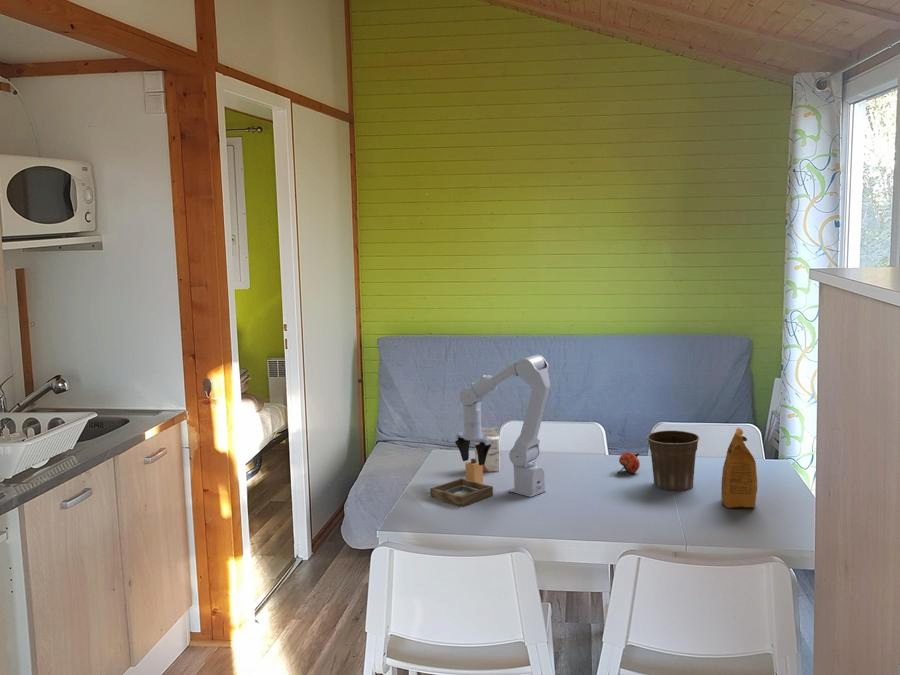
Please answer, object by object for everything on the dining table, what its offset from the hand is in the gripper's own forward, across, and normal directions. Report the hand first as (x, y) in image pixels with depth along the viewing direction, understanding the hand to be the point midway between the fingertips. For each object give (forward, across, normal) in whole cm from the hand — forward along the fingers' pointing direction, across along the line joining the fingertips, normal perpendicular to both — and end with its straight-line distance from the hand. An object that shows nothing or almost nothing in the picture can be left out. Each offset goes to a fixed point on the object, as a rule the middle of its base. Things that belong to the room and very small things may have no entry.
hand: (473, 462), depth 283 cm
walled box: (+7, -7, +13) cm, 16 cm away
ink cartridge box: (+7, +7, -14) cm, 17 cm away
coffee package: (+7, -76, -35) cm, 84 cm away
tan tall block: (+7, 0, 0) cm, 7 cm away
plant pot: (+7, -52, -38) cm, 65 cm away
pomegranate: (+7, -33, -41) cm, 53 cm away
